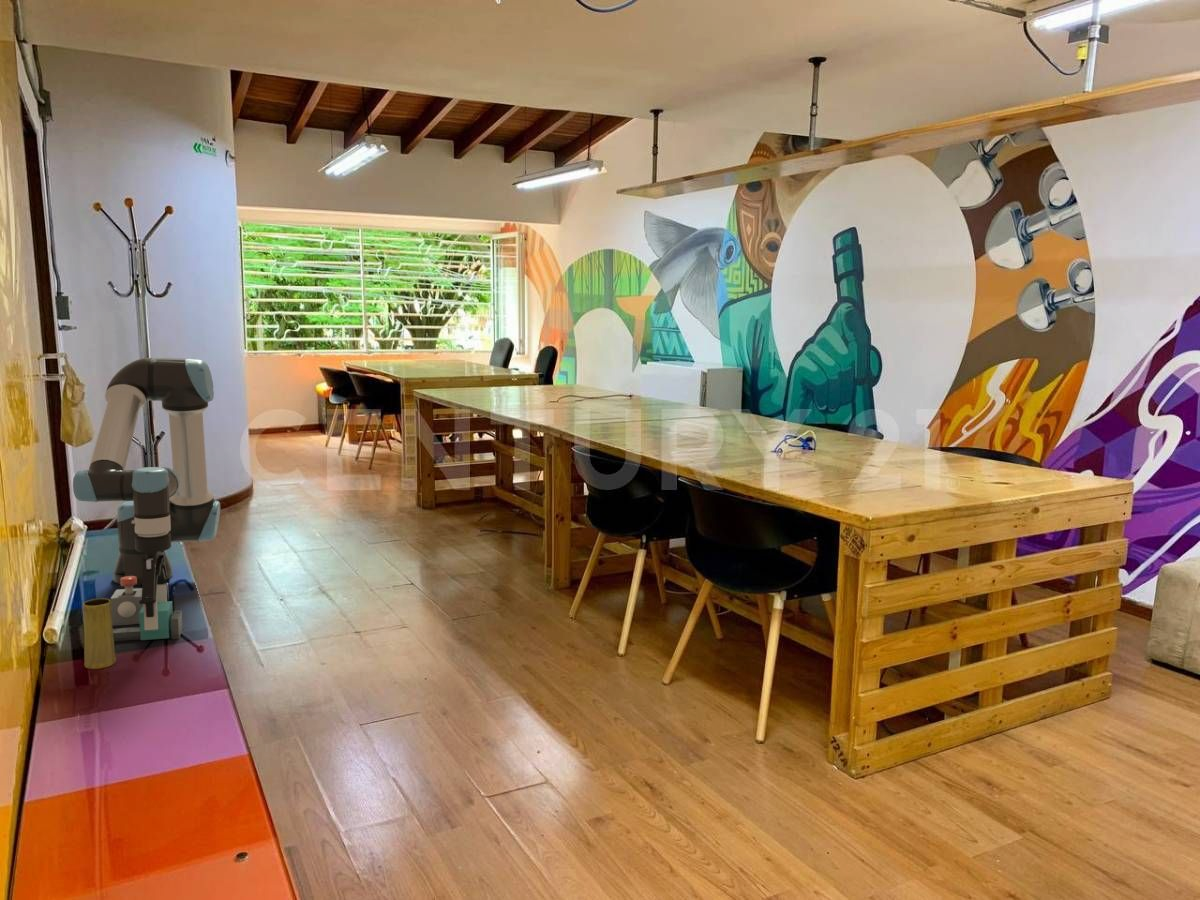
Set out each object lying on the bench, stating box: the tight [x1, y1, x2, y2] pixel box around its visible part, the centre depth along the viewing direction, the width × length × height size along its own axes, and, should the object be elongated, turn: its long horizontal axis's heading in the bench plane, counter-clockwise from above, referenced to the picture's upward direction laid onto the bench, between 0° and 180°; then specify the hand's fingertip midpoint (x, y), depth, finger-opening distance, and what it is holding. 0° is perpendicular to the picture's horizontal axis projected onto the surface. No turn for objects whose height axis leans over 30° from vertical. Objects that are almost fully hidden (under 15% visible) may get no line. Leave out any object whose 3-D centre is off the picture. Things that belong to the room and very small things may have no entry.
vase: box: [82, 597, 117, 670], centre depth 186 cm, size 6×6×14 cm
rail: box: [113, 609, 183, 642], centre depth 202 cm, size 19×6×5 cm, turn 109°
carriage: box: [139, 600, 174, 641], centre depth 203 cm, size 6×7×7 cm
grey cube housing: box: [110, 587, 149, 627], centre depth 213 cm, size 7×7×7 cm
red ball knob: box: [120, 576, 137, 595], centre depth 212 cm, size 4×4×5 cm
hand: (156, 619), depth 203 cm, fingers open, 13 cm apart
